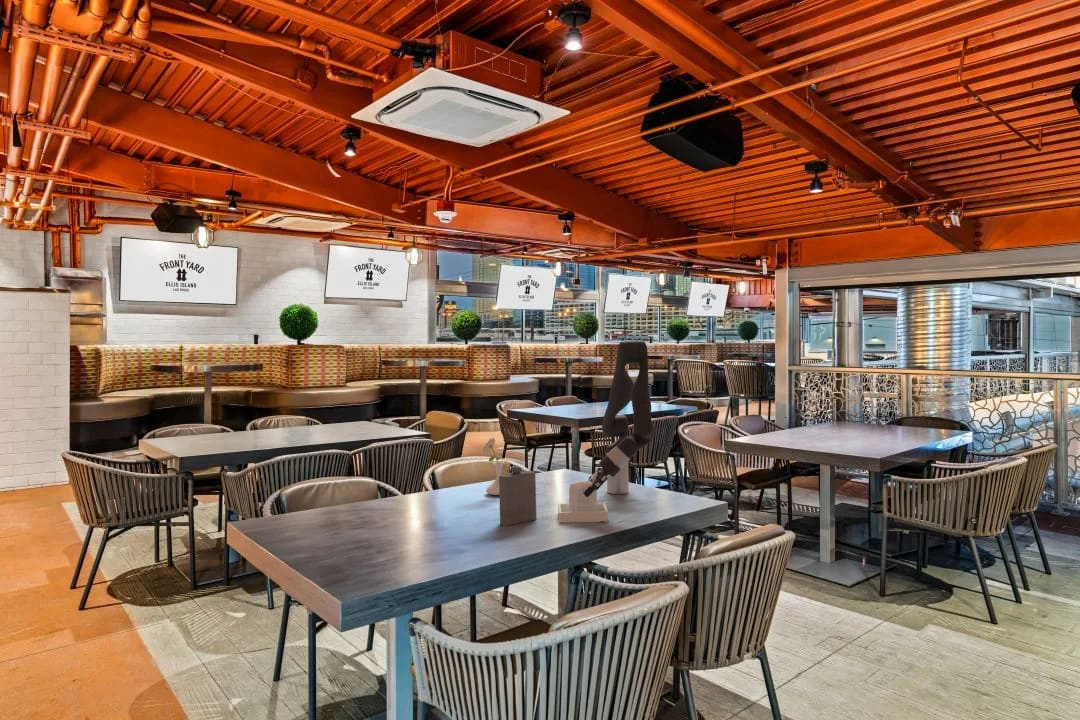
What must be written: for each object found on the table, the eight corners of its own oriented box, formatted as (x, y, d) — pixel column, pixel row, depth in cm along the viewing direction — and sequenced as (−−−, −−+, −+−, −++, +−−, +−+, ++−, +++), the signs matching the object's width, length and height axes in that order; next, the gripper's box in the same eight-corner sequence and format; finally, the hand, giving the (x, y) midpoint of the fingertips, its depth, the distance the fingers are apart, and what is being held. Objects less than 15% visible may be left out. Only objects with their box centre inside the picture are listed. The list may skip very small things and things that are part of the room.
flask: (530, 516, 245) (528, 463, 245) (539, 519, 241) (537, 465, 240) (496, 523, 237) (494, 468, 236) (504, 526, 232) (503, 470, 232)
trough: (558, 513, 250) (558, 503, 250) (604, 511, 250) (604, 502, 250) (559, 522, 236) (559, 512, 236) (608, 521, 236) (608, 511, 236)
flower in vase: (501, 490, 292) (499, 434, 292) (517, 494, 284) (516, 436, 283) (477, 495, 283) (476, 437, 283) (494, 499, 275) (492, 439, 275)
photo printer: (596, 512, 246) (595, 479, 245) (597, 515, 241) (597, 481, 241) (568, 513, 245) (568, 480, 245) (570, 516, 241) (569, 482, 240)
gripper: (605, 451, 250) (575, 481, 250) (609, 457, 235) (578, 490, 236) (619, 464, 250) (590, 495, 250) (624, 471, 235) (593, 504, 236)
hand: (584, 492), depth 243 cm, fingers open, 8 cm apart
